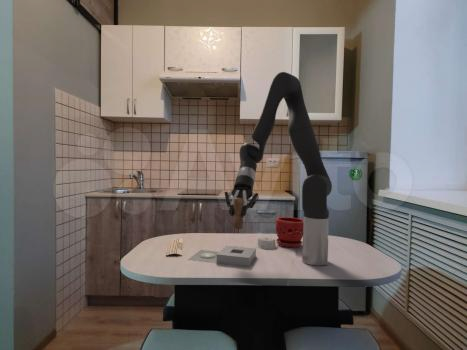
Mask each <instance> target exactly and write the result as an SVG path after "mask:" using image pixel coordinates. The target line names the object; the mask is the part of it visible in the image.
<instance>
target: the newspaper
mask: <svg viewBox="0 0 467 350" xmlns="http://www.w3.org/2000/svg"><path fill="white" fill-rule="evenodd" d="M169 240H170V241H169V244H168V247H167V252H166V255H165V256H166V257H168V256H170V255H179V256H182V255H183V246H184V239H182V238H178V237H175V238H172V239H169Z"/></svg>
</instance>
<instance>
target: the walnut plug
mask: <svg viewBox="0 0 467 350" xmlns="http://www.w3.org/2000/svg"><path fill="white" fill-rule="evenodd" d="M243 206H244V202H243V198H234V207H233V216H232V218H233V219H232V229H236V230H241V229H243V227H244V225H243V223H244V217H242V216H241V212H242V207H243Z"/></svg>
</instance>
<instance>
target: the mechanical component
mask: <svg viewBox="0 0 467 350" xmlns="http://www.w3.org/2000/svg"><path fill="white" fill-rule="evenodd" d="M278 245H279V244H276V239H275V238H273V237H269V236H261V237H258V238H257V243H255V244H254V247H256V248H258V249H262V250H274V249H278Z"/></svg>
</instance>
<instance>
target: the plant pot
mask: <svg viewBox="0 0 467 350" xmlns="http://www.w3.org/2000/svg"><path fill="white" fill-rule="evenodd" d="M275 231H276V236H277V238H276V239H275V242H276V243H277V245H279V246H282V247H286V248H298V247H301V245H303V219H302V218H296V217H288V216H287V217H286V216H282V217H277V218H276V221H275Z"/></svg>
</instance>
